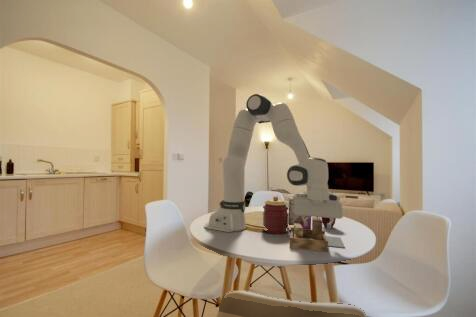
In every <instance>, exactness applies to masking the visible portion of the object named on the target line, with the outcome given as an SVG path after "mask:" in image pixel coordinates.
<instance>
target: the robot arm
mask: <svg viewBox="0 0 476 317" xmlns="http://www.w3.org/2000/svg"><path fill="white" fill-rule="evenodd" d="M245 104H246V106H245V107H246V109H245V108H243V109H240V110H239V111H238V113H237V115H236V117H235V120H234V123H233V126H232V131H231V134H230V139H229V144H228V151H227V155H226V157H225V158H224V159H223V163H222V173H223V174H222V175H223V199H222V200H221V201H220V202H219V203H218V205H219V206H220V207H219V208H217V209H216V210H215V211H214V212H212V213H211V215H210V216H209V218H208V221H207V222H206V223H205V224H204V229H209V230H214V231H220V232H225V233H231V232H238V231H244V230H246V229H247V228H246V226H247V223H246V217H245V216H246V215H245V214H246V213H245V211H246V200H245V167H246V162H247V158H248V155H249V149H250V145H251V141H252V138H253V134H254V129H255V126H256V124H257V123H258V124H264V123H271V127H272V131H273V133H274V136H275V138H276V139H277V141H279V142H280V143H282V144H284V145H286V146H287V147H289V148H290V149H291V150H292V151H293V153H294V155H295V157H296V159H297V162H298V164H294V165H291V166H290V167H289V168H288V169H287V172H286V178H287V181H288V183H289V184H291V185H293V186H296V187H301V186H302V187H303V186H305V187H306V193H304V194H299V193H295V194H294V195H293V196H292V198H293V203H294V210H293V213H294V215H297V216H302V220H303V222H304V226H308V222H306V221H305V219H304V218H305V216H311V218H312V217H318V218H321V217H325V218H330V220H331V221H330V222H329V223H327V229H332V228H331V224H332V223H333V221H334V218H336V219H343V217H344V210H343V204H342V202H341V201H340V200H341V197H340V195H339V194H337V193H334V192H331V191H330V190H329V184H328V181H329V165H328V162H327V161H326V160H325V159H323V158H320V157H313V156H312V157H311V155H310V153H309V149H308V148H307V146H306V143H305V141H304V140H303V137H302V136H301V134H300V130H298V127H297V124H296V121H295V118H294V116H293V113H292V111H291V109H290V107H289V106H288V104H286V103H284V102H279V103H275V104H273V103H272V101H271V100H269V99H268V98H267V97H266V96H264V95H262V94H259V93H255V94H252V95H251V96H249V97H248V99H247V100H246V103H245ZM245 224H246V226H245Z"/></svg>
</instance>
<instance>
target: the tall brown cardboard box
mask: <svg viewBox="0 0 476 317" xmlns="http://www.w3.org/2000/svg"><path fill="white" fill-rule="evenodd" d="M311 230H312V239H314V240H322V231H323V223H322V218H321V217H311Z"/></svg>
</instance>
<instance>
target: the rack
mask: <svg viewBox="0 0 476 317" xmlns="http://www.w3.org/2000/svg"><path fill="white" fill-rule="evenodd" d="M326 236H327V235H326V231H325V230H322V240H314V239H312V229H311V230H310V229H303V236H301V238H295V237H294V228H291V230H290V236H289V248H291V249H300V250H311V251H316V252H324V253H328V252H329V246H328V241H327V239H326Z"/></svg>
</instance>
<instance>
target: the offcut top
mask: <svg viewBox="0 0 476 317" xmlns="http://www.w3.org/2000/svg"><path fill="white" fill-rule="evenodd" d="M294 233H295V235H296V236H303V227H302V226H301V225H300V224H296V223H294Z"/></svg>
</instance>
